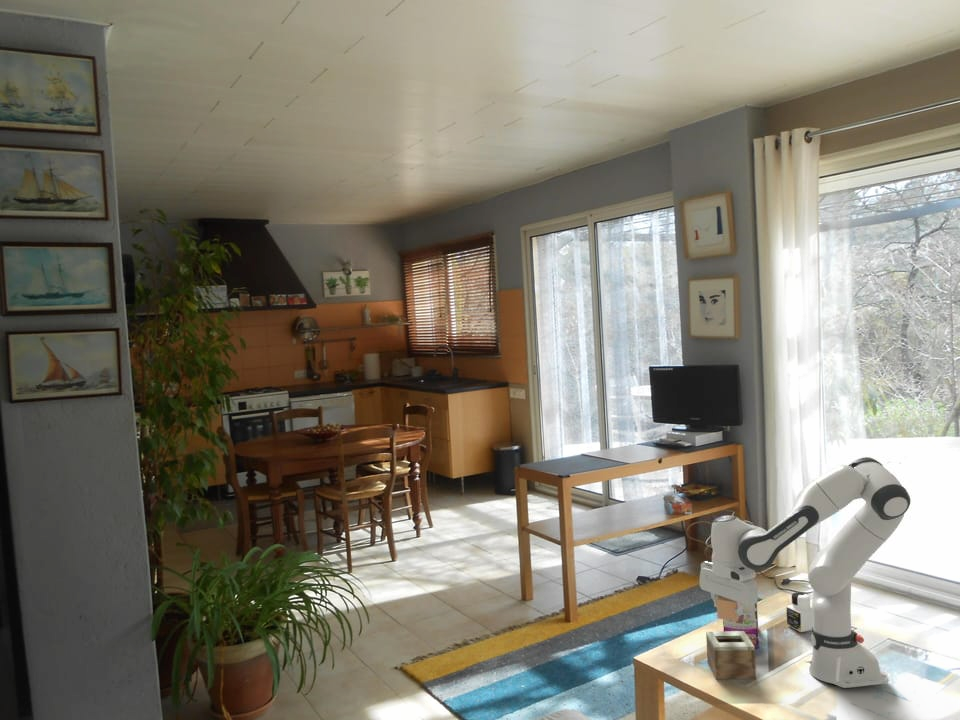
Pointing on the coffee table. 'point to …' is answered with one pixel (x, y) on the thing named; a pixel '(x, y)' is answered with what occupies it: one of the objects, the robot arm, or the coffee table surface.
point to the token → (727, 609)
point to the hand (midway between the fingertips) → (728, 610)
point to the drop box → (731, 655)
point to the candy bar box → (745, 624)
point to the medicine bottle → (800, 612)
